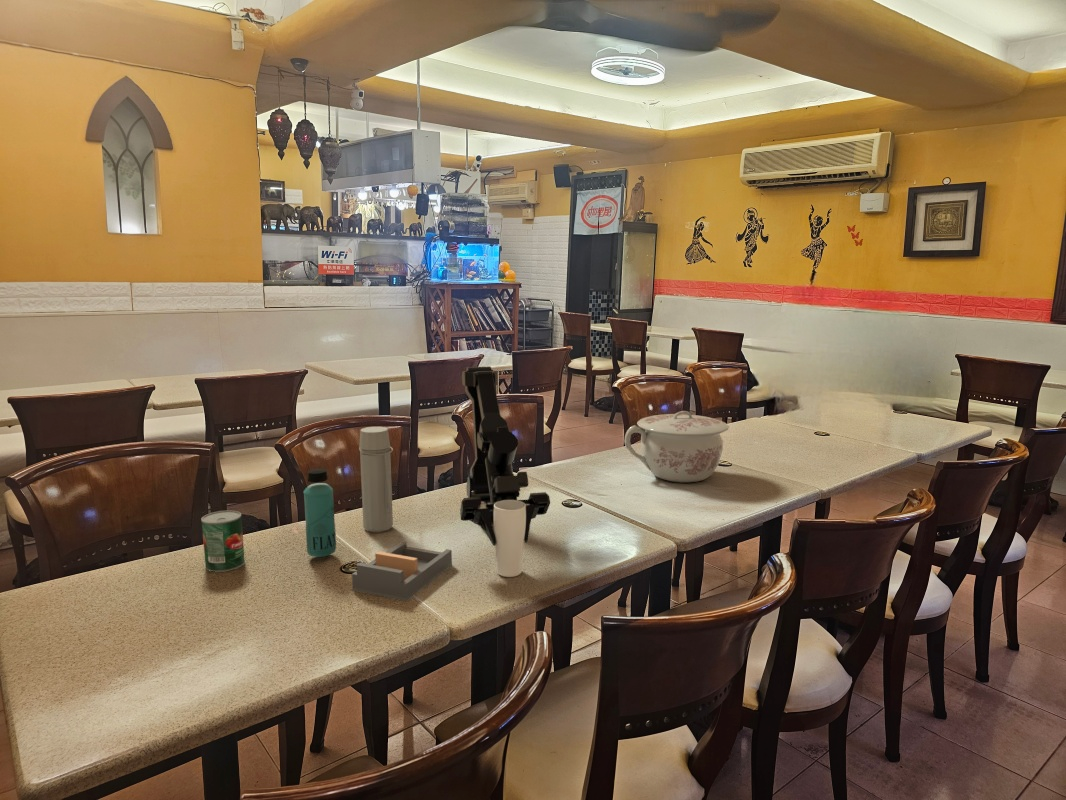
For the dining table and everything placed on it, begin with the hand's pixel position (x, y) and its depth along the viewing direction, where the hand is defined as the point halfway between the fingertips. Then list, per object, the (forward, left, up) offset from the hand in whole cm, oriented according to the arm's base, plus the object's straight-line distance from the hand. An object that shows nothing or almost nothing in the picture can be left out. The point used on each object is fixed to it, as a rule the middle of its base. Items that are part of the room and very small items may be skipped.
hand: (510, 543), depth 147 cm
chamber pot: (-26, +84, -7) cm, 88 cm away
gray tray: (-13, -18, -7) cm, 23 cm away
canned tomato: (-42, -45, -7) cm, 62 cm away
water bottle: (-41, -9, -7) cm, 43 cm away
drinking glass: (-1, +1, -7) cm, 7 cm away
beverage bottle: (-33, -27, -7) cm, 44 cm away
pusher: (-11, -20, -6) cm, 24 cm away
